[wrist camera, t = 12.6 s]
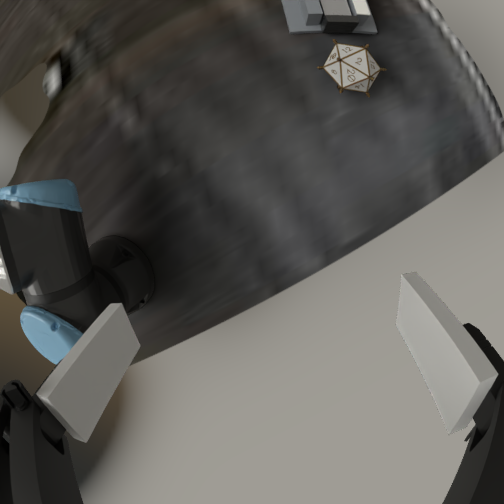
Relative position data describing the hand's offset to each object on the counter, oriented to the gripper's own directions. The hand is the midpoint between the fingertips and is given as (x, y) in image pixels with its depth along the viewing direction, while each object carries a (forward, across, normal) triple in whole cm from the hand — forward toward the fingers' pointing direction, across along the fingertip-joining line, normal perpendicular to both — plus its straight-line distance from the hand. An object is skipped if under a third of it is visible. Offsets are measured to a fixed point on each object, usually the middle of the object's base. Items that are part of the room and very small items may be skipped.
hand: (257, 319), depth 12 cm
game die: (+32, +14, +18) cm, 39 cm away
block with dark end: (+30, +15, +29) cm, 45 cm away
